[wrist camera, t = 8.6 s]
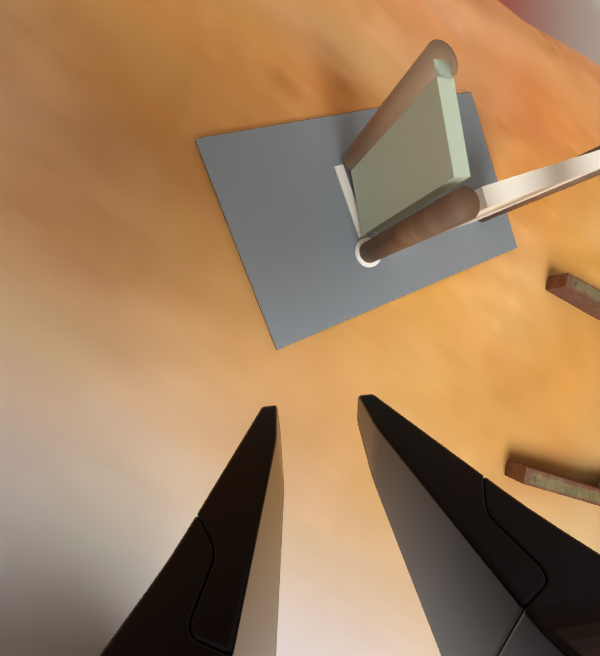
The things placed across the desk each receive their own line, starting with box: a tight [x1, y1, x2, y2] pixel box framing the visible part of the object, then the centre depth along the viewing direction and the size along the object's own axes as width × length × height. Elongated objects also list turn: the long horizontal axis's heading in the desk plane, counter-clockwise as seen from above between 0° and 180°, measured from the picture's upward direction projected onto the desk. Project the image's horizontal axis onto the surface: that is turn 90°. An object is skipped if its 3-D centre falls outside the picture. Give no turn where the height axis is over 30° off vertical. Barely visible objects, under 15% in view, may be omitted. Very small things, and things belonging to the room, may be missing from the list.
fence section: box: [359, 146, 600, 263], centre depth 19 cm, size 14×2×8 cm, turn 111°
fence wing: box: [344, 40, 471, 235], centre depth 17 cm, size 6×2×8 cm, turn 11°
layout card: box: [195, 92, 517, 350], centre depth 22 cm, size 24×14×1 cm, turn 111°
